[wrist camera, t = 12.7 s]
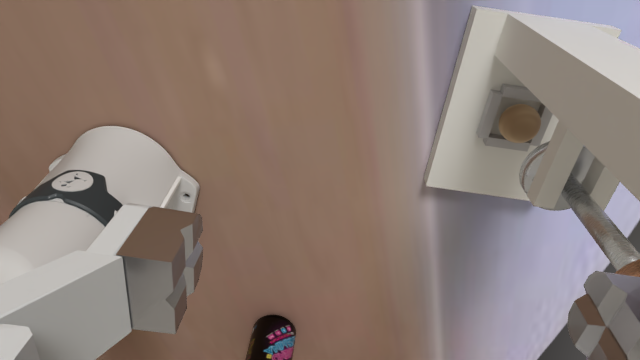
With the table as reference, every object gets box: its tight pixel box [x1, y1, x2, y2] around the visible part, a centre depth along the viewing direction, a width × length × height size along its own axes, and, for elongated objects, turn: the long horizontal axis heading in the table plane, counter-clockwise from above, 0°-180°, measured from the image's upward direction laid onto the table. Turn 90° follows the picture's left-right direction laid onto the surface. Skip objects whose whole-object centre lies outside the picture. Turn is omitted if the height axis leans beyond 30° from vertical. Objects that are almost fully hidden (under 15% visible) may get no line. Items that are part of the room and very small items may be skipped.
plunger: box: [519, 141, 640, 277], centre depth 31 cm, size 6×6×17 cm
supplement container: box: [245, 315, 296, 360], centre depth 66 cm, size 7×7×10 cm
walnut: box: [499, 104, 541, 143], centre depth 47 cm, size 4×4×4 cm
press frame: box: [424, 5, 640, 211], centre depth 37 cm, size 20×14×30 cm
